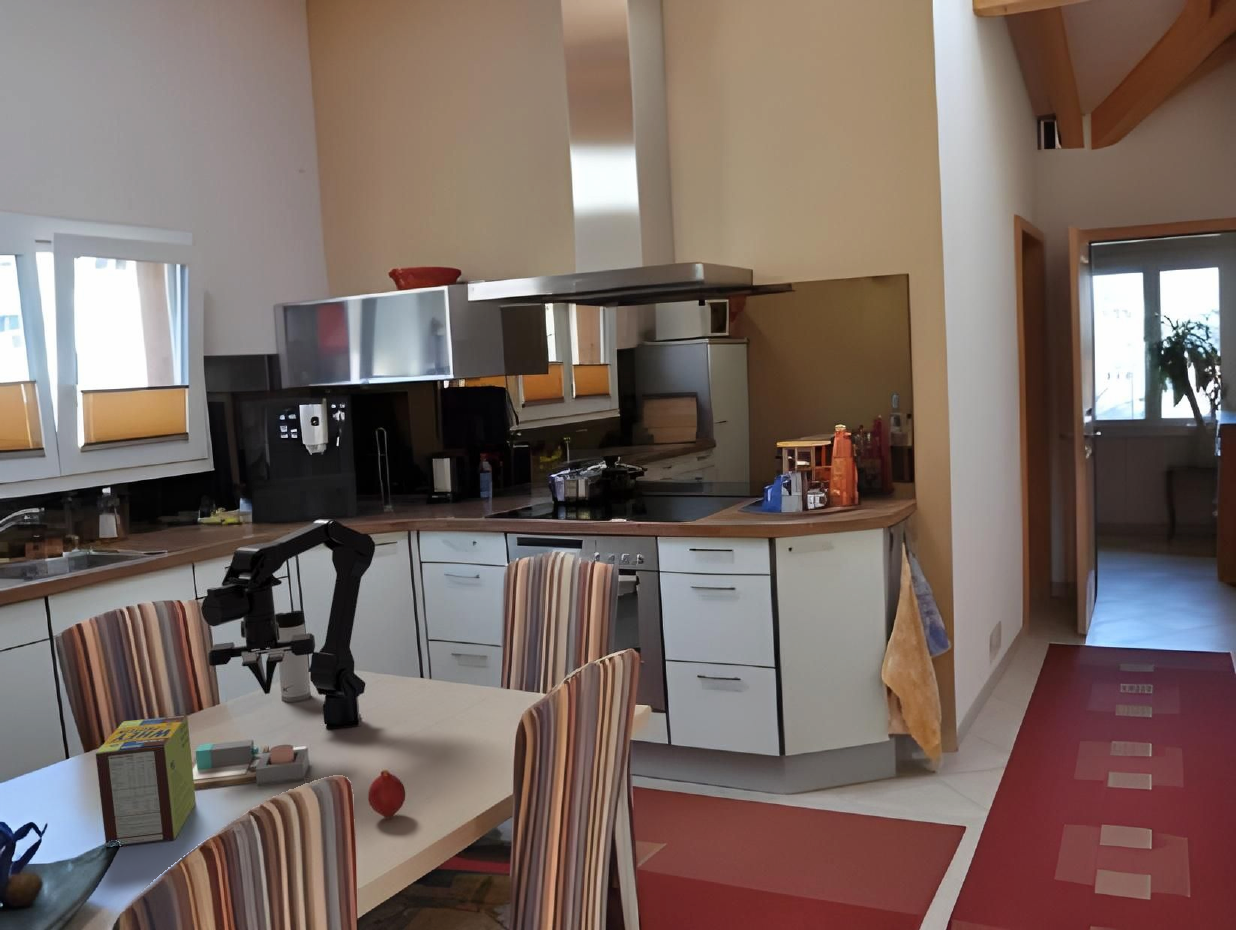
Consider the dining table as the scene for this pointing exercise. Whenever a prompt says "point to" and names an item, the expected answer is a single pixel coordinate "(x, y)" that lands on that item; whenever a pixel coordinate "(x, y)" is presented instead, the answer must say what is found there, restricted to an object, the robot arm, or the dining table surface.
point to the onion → (386, 794)
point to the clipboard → (227, 773)
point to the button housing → (282, 769)
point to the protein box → (146, 780)
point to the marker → (225, 754)
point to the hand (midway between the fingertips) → (267, 693)
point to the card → (299, 748)
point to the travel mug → (293, 659)
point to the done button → (281, 754)
